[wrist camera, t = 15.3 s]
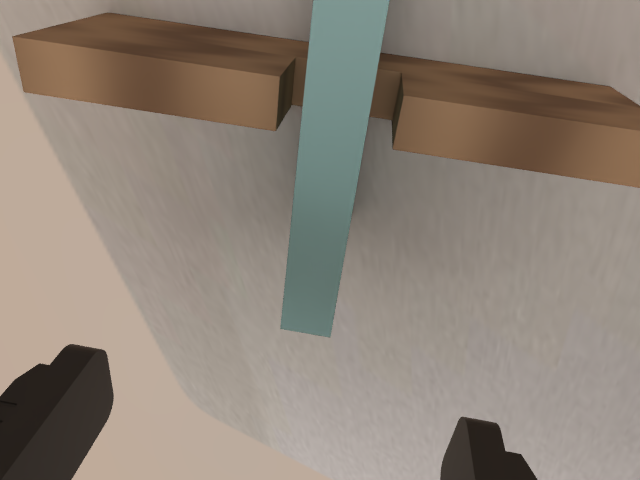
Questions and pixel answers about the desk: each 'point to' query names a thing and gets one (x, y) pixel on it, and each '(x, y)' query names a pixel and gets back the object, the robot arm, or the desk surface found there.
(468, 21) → the desk surface
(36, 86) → the slotted board
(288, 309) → the notched plate
